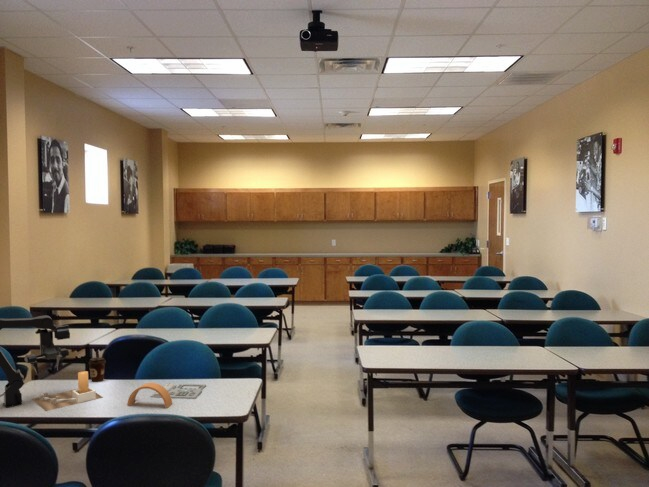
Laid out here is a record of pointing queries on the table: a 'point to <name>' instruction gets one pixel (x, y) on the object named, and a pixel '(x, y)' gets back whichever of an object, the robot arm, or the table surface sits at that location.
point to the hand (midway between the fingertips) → (48, 372)
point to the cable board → (57, 400)
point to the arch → (155, 387)
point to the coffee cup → (97, 369)
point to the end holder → (84, 395)
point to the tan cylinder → (83, 382)
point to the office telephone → (181, 391)
